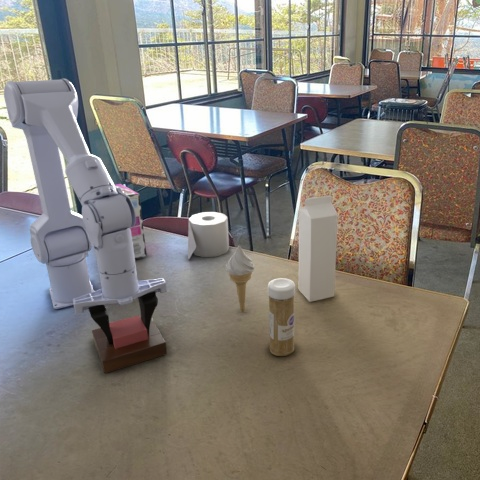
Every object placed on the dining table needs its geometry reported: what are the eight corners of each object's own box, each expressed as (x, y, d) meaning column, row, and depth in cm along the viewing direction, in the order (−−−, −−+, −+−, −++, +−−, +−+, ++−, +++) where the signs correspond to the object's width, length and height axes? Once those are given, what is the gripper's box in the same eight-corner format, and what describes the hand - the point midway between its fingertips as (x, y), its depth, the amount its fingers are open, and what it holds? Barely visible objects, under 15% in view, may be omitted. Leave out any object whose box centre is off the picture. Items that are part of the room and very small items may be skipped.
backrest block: (93, 341, 86) (91, 330, 85) (151, 325, 92) (150, 314, 91) (104, 373, 79) (102, 361, 78) (167, 354, 84) (165, 342, 83)
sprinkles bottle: (290, 359, 83) (290, 291, 78) (265, 354, 84) (264, 287, 79) (297, 343, 87) (298, 278, 82) (273, 340, 88) (272, 275, 83)
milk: (298, 289, 106) (298, 194, 97) (322, 284, 108) (324, 190, 100) (309, 302, 101) (311, 203, 92) (335, 296, 103) (338, 199, 95)
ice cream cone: (250, 321, 94) (248, 251, 88) (223, 317, 95) (219, 248, 89) (259, 306, 99) (257, 239, 93) (234, 303, 100) (230, 237, 94)
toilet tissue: (182, 262, 116) (178, 230, 113) (198, 241, 128) (196, 210, 125) (218, 265, 116) (216, 232, 112) (232, 242, 128) (230, 212, 124)
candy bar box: (148, 256, 119) (140, 193, 112) (128, 262, 116) (119, 197, 109) (129, 242, 126) (121, 182, 120) (110, 247, 123) (100, 186, 117)
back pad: (111, 344, 86) (107, 323, 84) (142, 335, 88) (139, 315, 87) (117, 360, 82) (113, 339, 80) (149, 350, 84) (146, 329, 83)
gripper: (71, 288, 72) (87, 361, 77) (168, 266, 79) (176, 335, 85) (65, 269, 77) (80, 339, 83) (156, 250, 85) (164, 316, 90)
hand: (128, 336), depth 84 cm, fingers closed on back pad, 5 cm apart
